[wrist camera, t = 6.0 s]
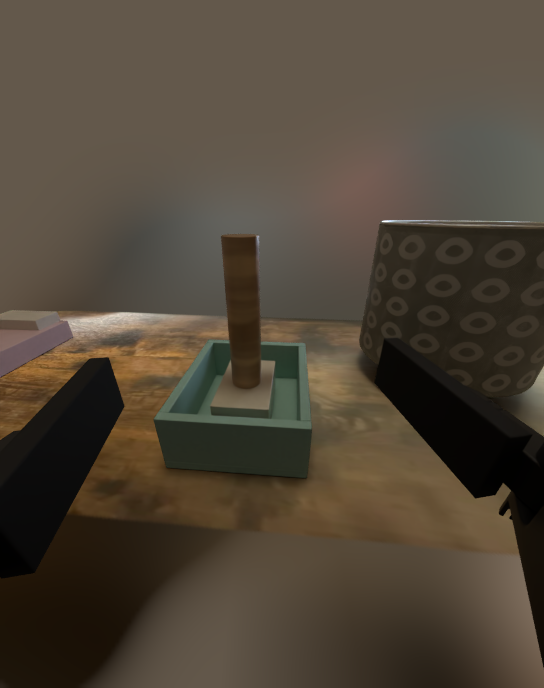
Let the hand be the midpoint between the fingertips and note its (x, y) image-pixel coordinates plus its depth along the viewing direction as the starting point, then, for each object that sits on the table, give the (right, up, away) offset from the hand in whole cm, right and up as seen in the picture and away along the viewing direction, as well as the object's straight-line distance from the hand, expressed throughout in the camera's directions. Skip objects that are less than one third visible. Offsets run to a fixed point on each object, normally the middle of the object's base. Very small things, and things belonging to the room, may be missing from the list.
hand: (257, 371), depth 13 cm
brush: (-2, -5, +14) cm, 15 cm away
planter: (+22, -2, +22) cm, 31 cm away
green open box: (-2, -6, +14) cm, 16 cm away
